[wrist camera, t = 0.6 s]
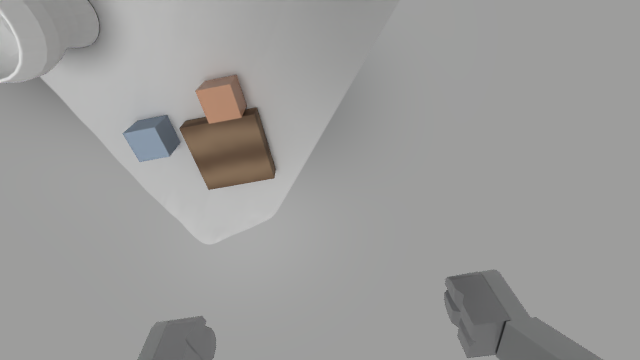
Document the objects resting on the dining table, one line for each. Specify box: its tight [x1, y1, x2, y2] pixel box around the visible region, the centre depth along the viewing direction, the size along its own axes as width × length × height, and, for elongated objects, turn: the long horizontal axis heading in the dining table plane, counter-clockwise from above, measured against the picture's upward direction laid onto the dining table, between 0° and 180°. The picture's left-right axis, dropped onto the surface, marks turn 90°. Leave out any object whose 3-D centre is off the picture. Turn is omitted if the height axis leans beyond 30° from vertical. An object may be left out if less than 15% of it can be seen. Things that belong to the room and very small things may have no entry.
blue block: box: [123, 115, 180, 162], centre depth 48 cm, size 5×5×5 cm
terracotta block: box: [196, 75, 247, 124], centre depth 45 cm, size 5×5×5 cm
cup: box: [0, 0, 99, 83], centre depth 34 cm, size 11×11×15 cm
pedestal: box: [179, 107, 276, 190], centre depth 51 cm, size 12×12×3 cm
